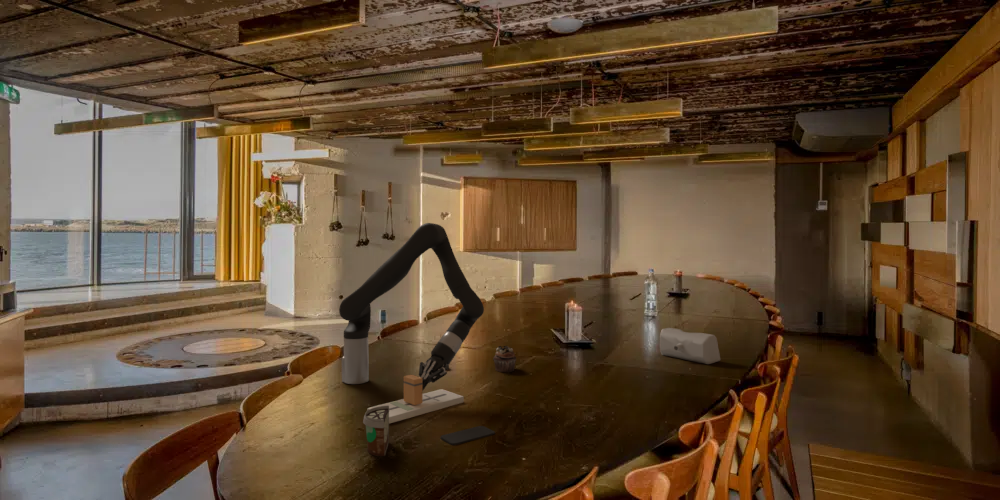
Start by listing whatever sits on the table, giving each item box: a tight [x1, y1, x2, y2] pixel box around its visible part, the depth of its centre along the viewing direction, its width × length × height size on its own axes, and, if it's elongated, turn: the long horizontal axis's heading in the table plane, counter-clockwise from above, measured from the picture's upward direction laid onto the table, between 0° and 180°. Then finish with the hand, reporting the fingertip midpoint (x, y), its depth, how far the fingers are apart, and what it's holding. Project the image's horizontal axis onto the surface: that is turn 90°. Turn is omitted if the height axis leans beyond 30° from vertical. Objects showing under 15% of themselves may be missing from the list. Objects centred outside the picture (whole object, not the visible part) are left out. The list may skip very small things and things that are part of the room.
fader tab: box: [403, 374, 423, 405], centre depth 181 cm, size 3×6×8 cm, turn 44°
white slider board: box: [366, 388, 465, 425], centre depth 182 cm, size 30×12×2 cm, turn 134°
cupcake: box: [493, 345, 517, 373], centre depth 231 cm, size 10×10×10 cm
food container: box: [362, 406, 390, 457], centre depth 148 cm, size 12×6×10 cm, turn 5°
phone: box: [440, 425, 496, 446], centre depth 158 cm, size 7×1×15 cm
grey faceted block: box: [659, 327, 721, 365], centre depth 250 cm, size 25×16×12 cm, turn 40°
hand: (418, 390), depth 182 cm, fingers closed
